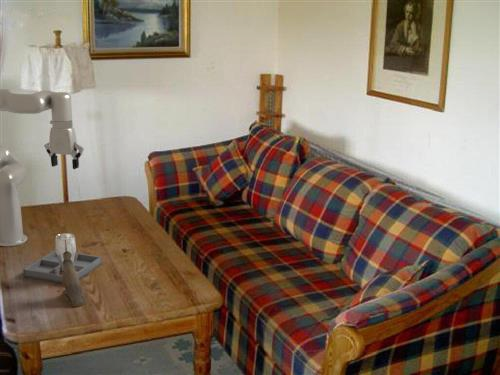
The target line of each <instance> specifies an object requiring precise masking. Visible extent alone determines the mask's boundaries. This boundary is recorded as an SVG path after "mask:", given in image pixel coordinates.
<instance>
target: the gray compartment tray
mask: <svg viewBox="0 0 500 375" xmlns="http://www.w3.org/2000/svg"><path fill="white" fill-rule="evenodd" d="M101 265H103V257H102V256H97V255H93V254H92V255H91V254H88V253H87V254H85V253H79V252H76V255H75V269H76V272H77V275H78V278H79V281H81V279H83V278H85V277H86V276H88V274H90V273H92V272H93V271H94V269H95V270H96V269H97V268H99V267H100V266H101ZM59 270H60V267H59V261H58V258H57V254H56V249H55V250H53V251H52V252H50V253H48V254H47V255H45V256H44V257H42V258H40V259H37V261H35V262H33V263H32V264H30V265H28V266H26V267H25V268H23V277H24V278H28V279H35V280H39V281H45V282H51V283H56V284H59V285H60V284H61V285H64V284H63V281H62V275H59Z"/></svg>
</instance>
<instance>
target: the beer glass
mask: <svg viewBox="0 0 500 375" xmlns="http://www.w3.org/2000/svg"><path fill="white" fill-rule="evenodd" d="M55 250H56V254H57V258H58V261H59V267H60V270H59V275H61V272H62V271H63V260H64V258H63V253H64V252H66V251H68V252H70V253H71V255H72V256H71V258H70V260H72V262H73V264H74V269H75V255H76V253H77V246H76V237H75V234H73V233H67V232H65V233H60V234H57V235H56V236H55Z"/></svg>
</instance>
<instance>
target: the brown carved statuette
mask: <svg viewBox="0 0 500 375" xmlns="http://www.w3.org/2000/svg"><path fill="white" fill-rule="evenodd" d="M71 256H72V255H71V253H70V252H68V251H66V252H64V253H63V258H64V260H63V271H62V272H61V275H62V281H63V284H62V285H63V286H64V290H63V291H62V294H61V296H62V297H63V298H64V299H65V300H66V302H67V303H68V304H69V305H70V306H71V307H72V308H79V307H83V306H86V305H87V298H86V297H85V294H84V292H83V289H82V286H81V283H80V280H79V278H78V275H77V272H76V269H74V264H73V262H72V260H70V258H71Z"/></svg>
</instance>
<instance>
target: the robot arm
mask: <svg viewBox="0 0 500 375" xmlns="http://www.w3.org/2000/svg"><path fill="white" fill-rule="evenodd" d="M48 110H51V120H50V122H49V124H50V125H52V126H51V127H50V129H49V130H50V131H49V142H47V143H46V144H44V148H45V150H46V152H47V154H48V156H49V157H50V163H51V167H53V168H54V167H56V166H58V165H59V164H58V155H64V156H66V155H67V156H69V155H70V156H71V157H72V158H73V159H71V162H72V163H71V164H72V165H71V166H72V169H73V170H76V169H79V167H80V162H79V161H80V158H81V156H82V155H83V152H84V151H85V149H84V147H83V146H81V145H80V144H78V141H77V135H76V134H77V133H76V130H75V128H74V127H73V113H72V112H73V110H72V97H71V93H69V92H66V91H65V92H64V91H59V92H57V91H50V90H40V91H37V92H34V93H13V92H12V91H11V90H10V89H8V88H0V112H8V113H13V114H26V115H31V114H32V115H35V114H40V113H42V112H45V111H48ZM28 175H29V174H28V169H27V168H26V166H25V165H24V163H23V162H22V161H21V160H20V159H19V158H17V156H15V154H13V152H12V151H11V150H9V149H8V147H6V146H5V145H3V144H2V143H1V144H0V246H1V247H16V246H20V245H22V244H24V243H26V242H27V241H28V236H27V235H26V234H24V231H23V230H24V229H23V218H22V207H21V206H22V205H21V199H20V195H19V191H18V190H17V187H18V186H20V185H22V184H23V183H24V182H26V180H27V179H28Z"/></svg>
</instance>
